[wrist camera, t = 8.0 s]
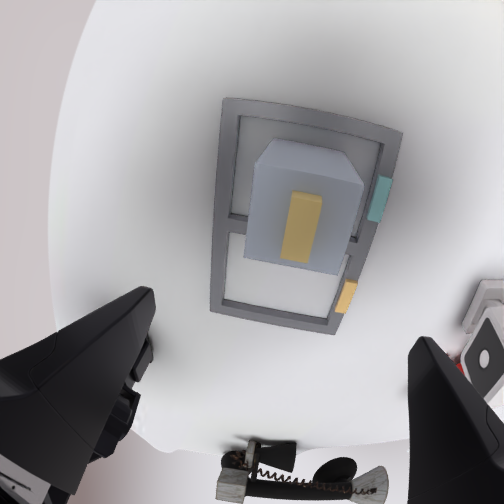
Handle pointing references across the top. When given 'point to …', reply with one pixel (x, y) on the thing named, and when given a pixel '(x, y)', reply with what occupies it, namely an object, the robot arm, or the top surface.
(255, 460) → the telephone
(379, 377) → the top surface
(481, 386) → the security camera
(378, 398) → the top surface
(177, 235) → the top surface
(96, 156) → the top surface
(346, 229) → the plug
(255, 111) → the dock
